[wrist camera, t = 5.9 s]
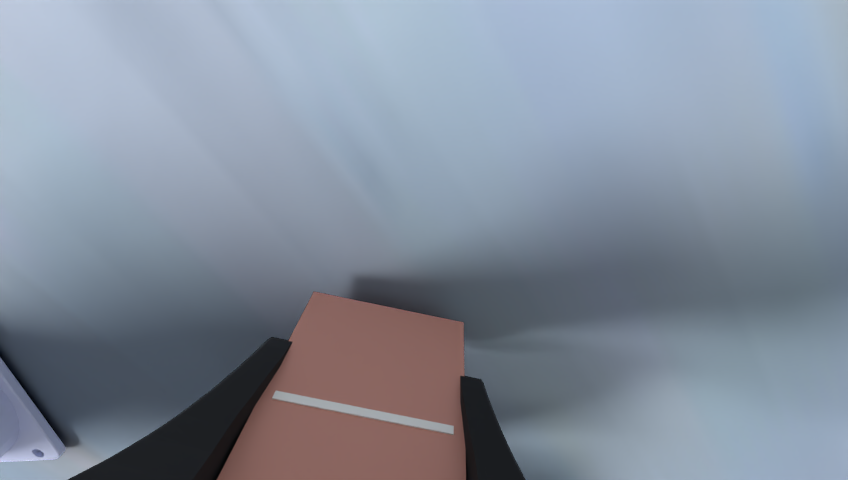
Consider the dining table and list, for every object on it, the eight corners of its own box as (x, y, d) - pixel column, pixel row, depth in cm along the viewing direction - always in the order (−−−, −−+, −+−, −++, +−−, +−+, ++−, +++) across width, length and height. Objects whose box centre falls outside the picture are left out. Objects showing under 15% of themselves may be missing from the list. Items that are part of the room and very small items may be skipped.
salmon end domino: (314, 290, 15) (178, 551, 8) (463, 321, 15) (468, 606, 8) (308, 339, 16) (184, 613, 9) (449, 368, 16) (442, 660, 9)
